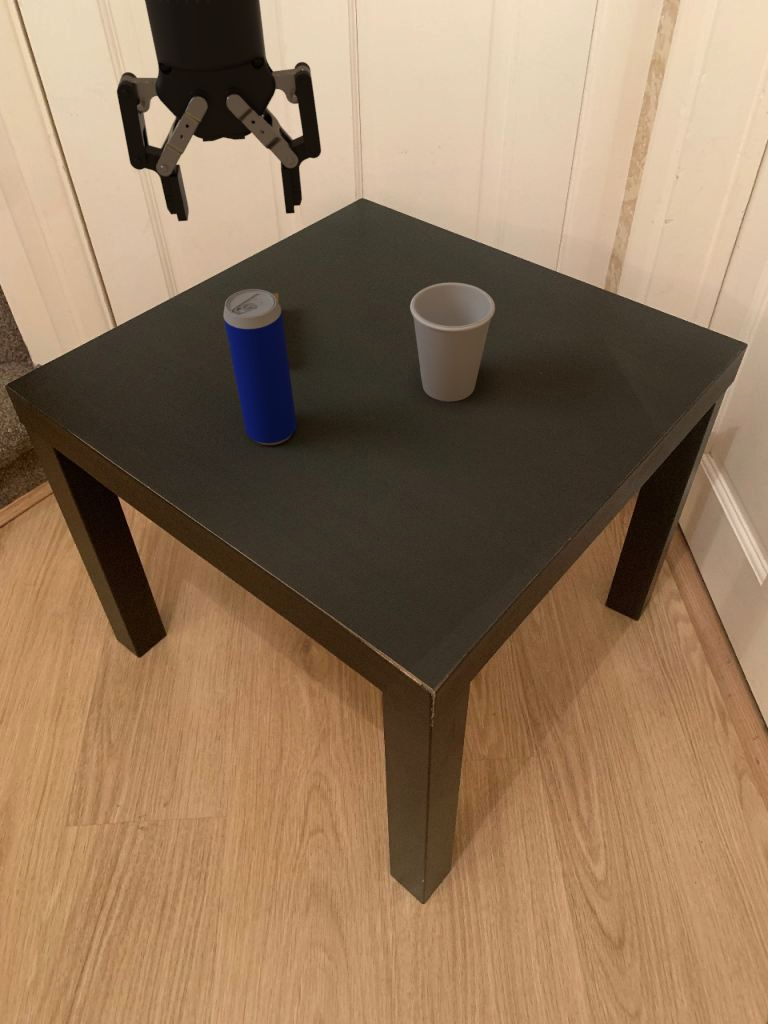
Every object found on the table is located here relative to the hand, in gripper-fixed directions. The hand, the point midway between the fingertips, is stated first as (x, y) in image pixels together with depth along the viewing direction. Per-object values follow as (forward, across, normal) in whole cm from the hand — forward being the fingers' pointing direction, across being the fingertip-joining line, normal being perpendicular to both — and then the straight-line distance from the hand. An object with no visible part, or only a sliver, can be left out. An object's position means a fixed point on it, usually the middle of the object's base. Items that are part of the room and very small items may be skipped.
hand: (236, 213), depth 64 cm
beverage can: (+24, 0, 0) cm, 24 cm away
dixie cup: (+23, -19, -5) cm, 31 cm away
